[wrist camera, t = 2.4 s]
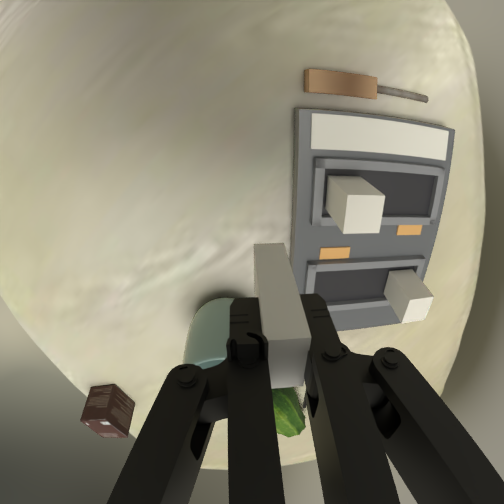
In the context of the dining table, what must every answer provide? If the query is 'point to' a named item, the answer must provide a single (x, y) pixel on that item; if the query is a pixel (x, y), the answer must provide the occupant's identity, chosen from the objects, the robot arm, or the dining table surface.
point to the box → (108, 411)
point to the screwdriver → (351, 85)
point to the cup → (208, 334)
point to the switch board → (393, 217)
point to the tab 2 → (408, 295)
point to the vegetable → (287, 412)
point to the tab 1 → (354, 204)
